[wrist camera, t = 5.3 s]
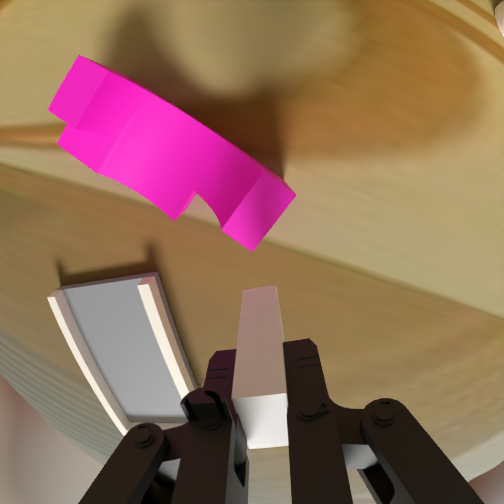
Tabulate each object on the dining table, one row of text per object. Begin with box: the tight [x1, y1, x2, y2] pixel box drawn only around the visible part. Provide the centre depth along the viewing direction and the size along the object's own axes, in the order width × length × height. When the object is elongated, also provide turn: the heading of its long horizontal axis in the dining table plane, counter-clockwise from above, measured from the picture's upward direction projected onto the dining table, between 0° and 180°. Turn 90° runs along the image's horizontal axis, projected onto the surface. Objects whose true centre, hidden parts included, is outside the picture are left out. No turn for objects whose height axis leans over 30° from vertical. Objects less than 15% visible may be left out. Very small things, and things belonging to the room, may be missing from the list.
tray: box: [47, 271, 198, 435], centre depth 27 cm, size 19×11×2 cm, turn 10°
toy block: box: [48, 55, 296, 252], centre depth 18 cm, size 15×6×8 cm, turn 54°
